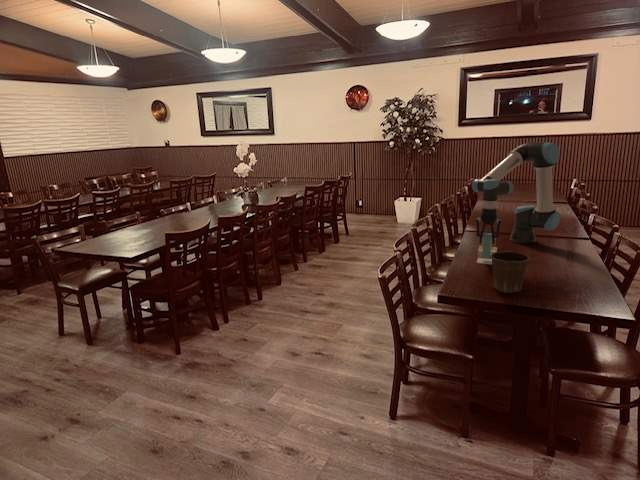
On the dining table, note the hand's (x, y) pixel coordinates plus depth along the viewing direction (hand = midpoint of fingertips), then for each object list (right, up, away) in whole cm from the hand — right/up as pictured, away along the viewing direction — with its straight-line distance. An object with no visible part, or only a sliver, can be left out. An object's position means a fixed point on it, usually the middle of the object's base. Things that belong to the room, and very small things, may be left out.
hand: (486, 248), depth 235 cm
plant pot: (-5, -18, -37) cm, 42 cm away
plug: (0, -5, +1) cm, 5 cm away
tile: (0, -7, +2) cm, 8 cm away
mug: (+11, -1, +24) cm, 27 cm away
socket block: (+6, -4, +13) cm, 15 cm away
